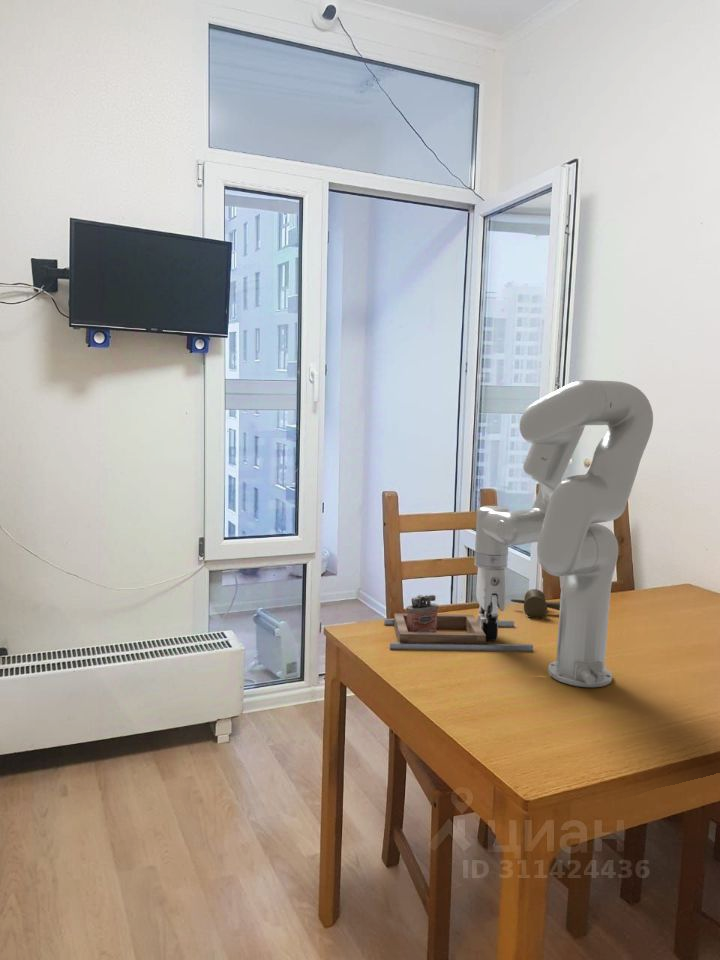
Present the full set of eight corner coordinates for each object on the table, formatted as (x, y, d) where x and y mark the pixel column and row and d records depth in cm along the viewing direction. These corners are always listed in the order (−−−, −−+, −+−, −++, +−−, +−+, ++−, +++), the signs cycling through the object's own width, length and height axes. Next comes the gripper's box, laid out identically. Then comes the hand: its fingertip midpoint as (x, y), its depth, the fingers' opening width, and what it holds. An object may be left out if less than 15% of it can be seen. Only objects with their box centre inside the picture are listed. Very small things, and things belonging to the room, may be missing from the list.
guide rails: (532, 652, 160) (533, 645, 160) (389, 650, 159) (389, 643, 159) (513, 626, 178) (513, 620, 177) (384, 624, 176) (384, 618, 176)
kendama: (589, 625, 182) (509, 616, 187) (586, 615, 192) (509, 606, 196) (591, 602, 182) (511, 593, 186) (588, 593, 191) (511, 585, 195)
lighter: (409, 641, 165) (411, 599, 164) (402, 636, 168) (404, 595, 167) (439, 637, 168) (441, 595, 167) (432, 632, 171) (433, 592, 170)
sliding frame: (502, 648, 161) (504, 627, 161) (399, 647, 160) (400, 625, 160) (488, 626, 176) (489, 607, 175) (393, 625, 175) (394, 605, 175)
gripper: (516, 568, 158) (512, 648, 160) (498, 551, 175) (494, 624, 177) (482, 568, 158) (478, 648, 160) (467, 551, 174) (464, 624, 177)
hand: (487, 635), depth 169 cm, fingers closed on sliding frame, 4 cm apart
